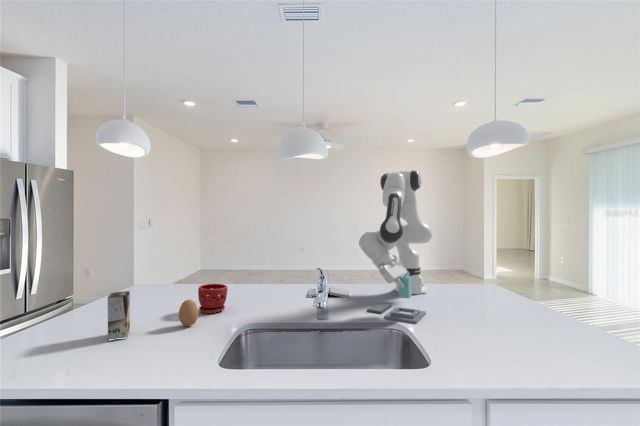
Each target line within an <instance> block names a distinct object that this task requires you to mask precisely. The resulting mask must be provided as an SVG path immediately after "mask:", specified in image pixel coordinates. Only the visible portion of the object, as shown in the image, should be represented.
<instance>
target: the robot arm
mask: <svg viewBox="0 0 640 426" xmlns="http://www.w3.org/2000/svg"><path fill="white" fill-rule="evenodd" d="M422 182H423V178H422V175H421V173H420V172H419V171H417V170H400V171H395V172H387V173H385V174H383V175H382V176H380V184H379V185H380V187H381V189H382V204H383V205H384V206H385V207H386V214H385V219H384V221H383V222H382V223H381V224H380V227H379V230H378V231H366V232H365V233H364V234H363V235H362V236H361V238H360V239H359V241H358V245H359V246H358V247H360V249H361V251H362V252H363V254H365V255H366V256H367V258H368V259H370V260H371V262H372V264H373V265H374V266H375V267H376V268H377V269H378V270H379V271H378V272H379V273H380V275H381V276H382V277H383V279H384V280H385V281H386V283H388V284H392V283H395V287H393V291H395V292H397V293H399V286H400V287H401V288H404V287H405V286H406V285H405V284H404V283H403V282H402V281H400V279H399V277H400V276H402V275H403V276H405V275H407V276H412V295H420V294H427V291H428V286H425V284H424V278H423V277H422V275H421V270H422V269H421V266H420V255H419V253H418V251H416V250H415V249H413V248H412V247H411V245H410V244H418V245H420V244H427V243H429V242H430V241H431V239H432V237H433V232H432V231H433V230H432V229H431V227H429V226H428V225H427V224H426V223H425V222H424V221H423V220H422V219H421V217H420V215H419V212H418V204H417V196H416V195H417V193H416V191H417V190H419V189H420V188H421V186H422ZM401 219H402V220H404V221H405V222H406V223H407V224H405V223H402V222H401ZM395 247H396V249H397V253H398V257H397V255H395V254H392V253H391V252H390V251H391V250H393V249H394V248H395ZM398 259H399V260H398Z"/></svg>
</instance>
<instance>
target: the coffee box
mask: <svg viewBox="0 0 640 426" xmlns="http://www.w3.org/2000/svg"><path fill="white" fill-rule="evenodd" d="M130 301H131V299H130V291H129V290H128V291H127V290H126V291H118V292H111V293H110V294H109V295H108V296H107V340H108V339H116V338H124V337H127V336H128V337H129V335H128V333H129V334H130V332H129V330H131V323H130V322H131V316H130V315H131V313H130V311H131V307H130V306H131V305H130V304H131V303H130ZM128 337H127V338H128Z"/></svg>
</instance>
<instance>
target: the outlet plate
mask: <svg viewBox="0 0 640 426" xmlns="http://www.w3.org/2000/svg"><path fill="white" fill-rule="evenodd" d="M426 314H427V311H423V310H420V309H415V308H407V307H400V306H398V307H394V308H393V309H392V310H391V311H389V312H388V313H386V314H385V315H384V316H383V320H390V321H395V322H396V321H397V322H403V323H409V324H415V325H417V324H418V323H419V322H420V321H421V320H422V319H423V318H424V317H425V316H426Z"/></svg>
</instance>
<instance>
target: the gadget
mask: <svg viewBox="0 0 640 426" xmlns="http://www.w3.org/2000/svg"><path fill="white" fill-rule="evenodd" d="M328 288H329V294H328V295H330V296H335V297H340V298H346V299H347V298H350V293H349V289H345V288H339V287H335V286H331V285H330V286H329V287H328ZM316 293H317V292H316V288H311V289H309V290H308V293H307V297H308V296H313V297H312V298H314V297H315V296H316ZM316 297H317V296H316Z"/></svg>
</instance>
